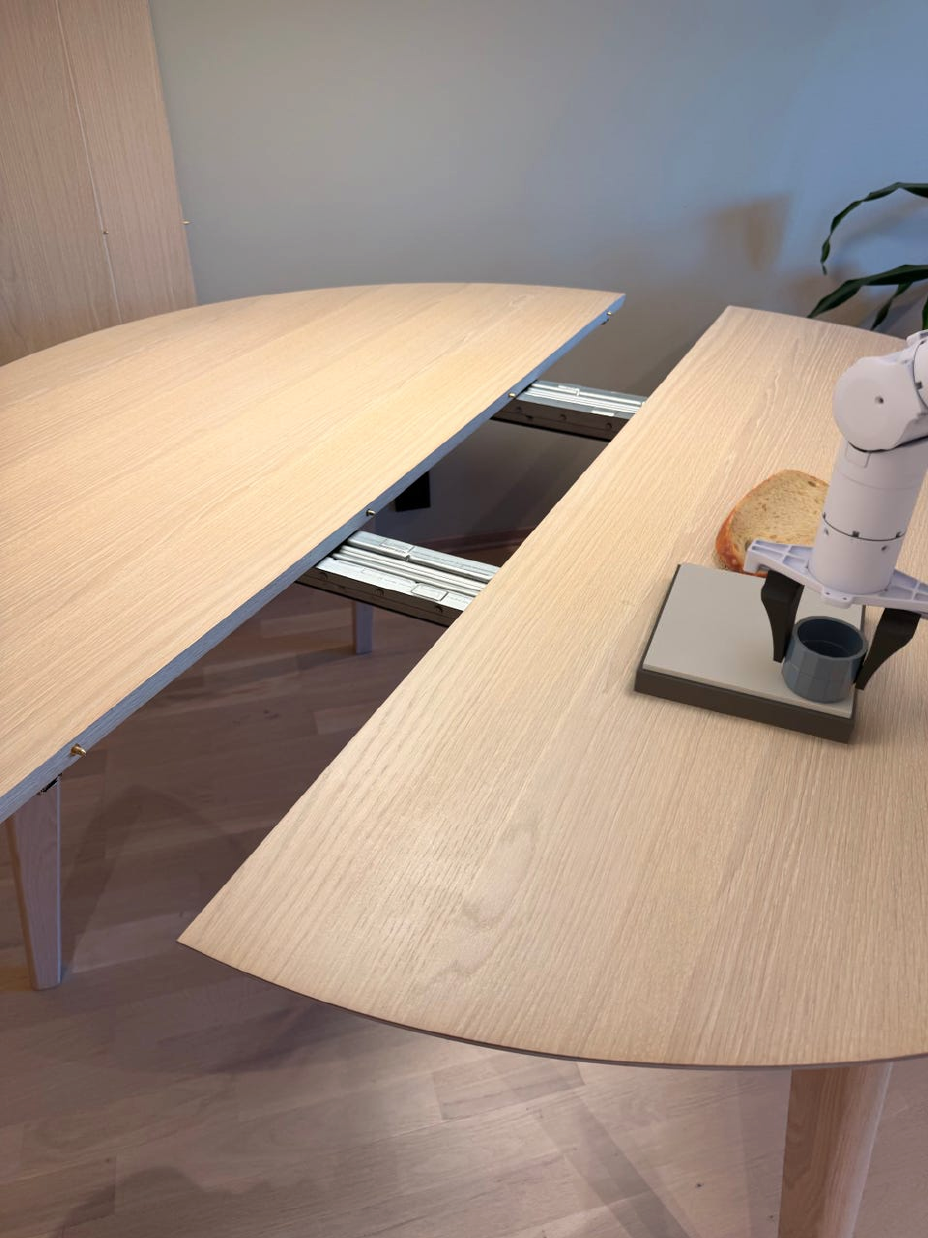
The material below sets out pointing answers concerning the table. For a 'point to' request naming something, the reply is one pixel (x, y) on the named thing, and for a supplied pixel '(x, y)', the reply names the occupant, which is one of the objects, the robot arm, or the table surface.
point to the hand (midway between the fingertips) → (820, 668)
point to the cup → (824, 659)
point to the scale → (735, 653)
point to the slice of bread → (772, 517)
